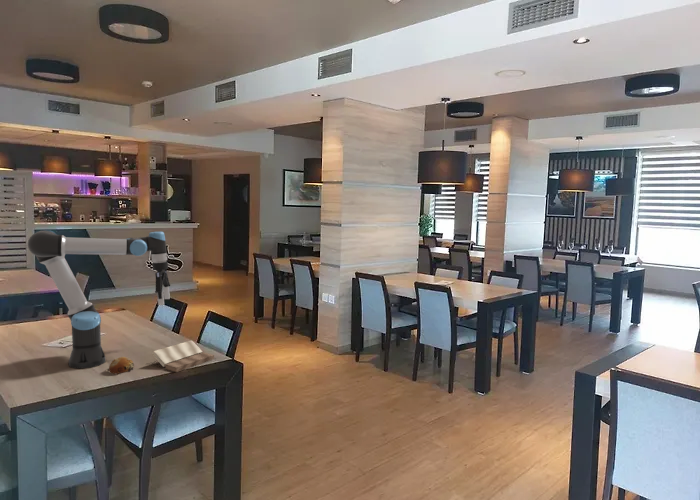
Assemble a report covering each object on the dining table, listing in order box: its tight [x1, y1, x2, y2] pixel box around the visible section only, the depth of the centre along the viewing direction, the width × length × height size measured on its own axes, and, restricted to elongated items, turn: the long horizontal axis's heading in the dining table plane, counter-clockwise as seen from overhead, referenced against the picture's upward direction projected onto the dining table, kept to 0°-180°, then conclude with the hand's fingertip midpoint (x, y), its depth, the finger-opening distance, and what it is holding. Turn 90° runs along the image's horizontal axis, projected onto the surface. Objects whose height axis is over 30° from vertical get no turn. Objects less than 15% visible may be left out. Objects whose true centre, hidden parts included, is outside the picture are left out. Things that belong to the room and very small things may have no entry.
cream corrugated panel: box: [152, 340, 203, 368], centre depth 230 cm, size 22×9×2 cm, turn 149°
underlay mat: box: [146, 357, 216, 374], centre depth 230 cm, size 24×22×1 cm
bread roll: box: [108, 356, 135, 375], centre depth 218 cm, size 10×10×8 cm
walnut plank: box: [164, 352, 215, 373], centre depth 226 cm, size 22×8×2 cm, turn 149°
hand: (164, 301), depth 252 cm, fingers open, 13 cm apart
